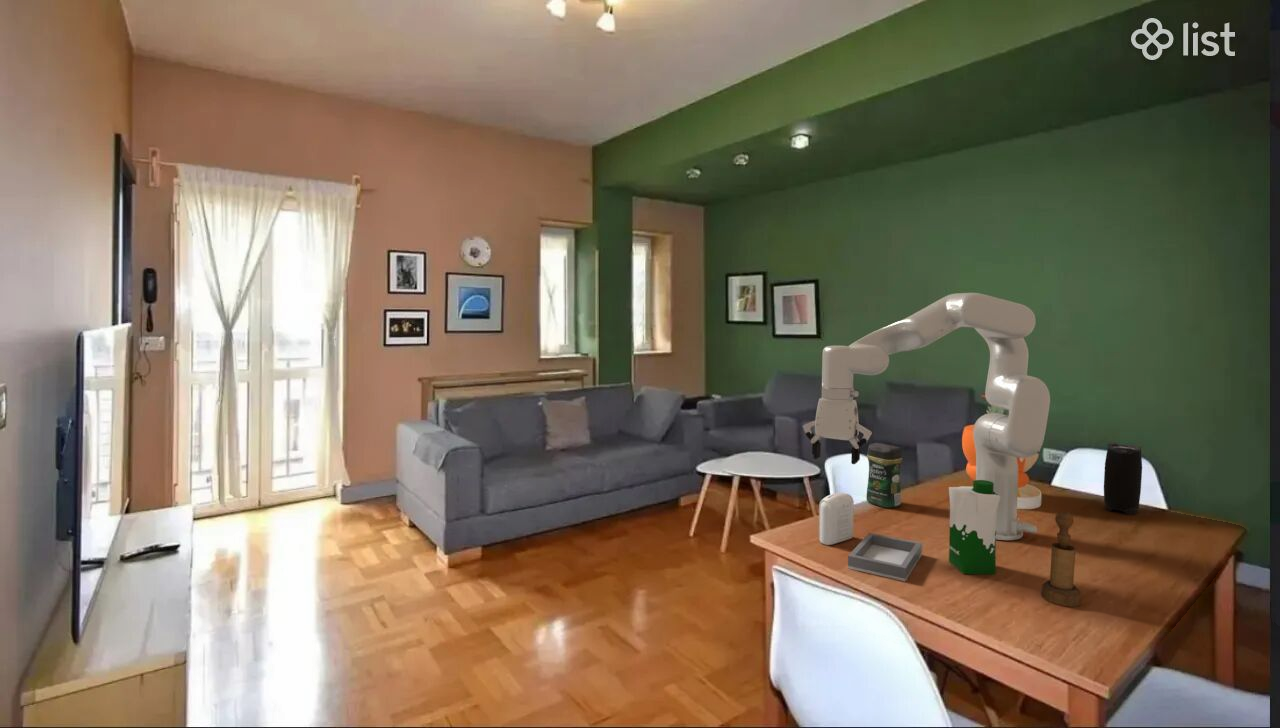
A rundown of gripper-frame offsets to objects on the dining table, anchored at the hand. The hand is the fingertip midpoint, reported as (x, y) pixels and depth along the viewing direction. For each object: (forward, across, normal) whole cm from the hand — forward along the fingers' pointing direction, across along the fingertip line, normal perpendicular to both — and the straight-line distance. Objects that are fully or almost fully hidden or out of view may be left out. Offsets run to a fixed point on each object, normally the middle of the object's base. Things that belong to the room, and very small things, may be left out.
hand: (835, 460), depth 155 cm
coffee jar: (+21, -3, -37) cm, 43 cm away
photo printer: (+21, 0, 0) cm, 21 cm away
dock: (+21, -14, +7) cm, 26 cm away
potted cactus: (+20, -32, -62) cm, 73 cm away
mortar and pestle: (+21, -48, +7) cm, 53 cm away
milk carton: (+21, -32, 0) cm, 38 cm away
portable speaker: (+20, -62, -67) cm, 93 cm away
